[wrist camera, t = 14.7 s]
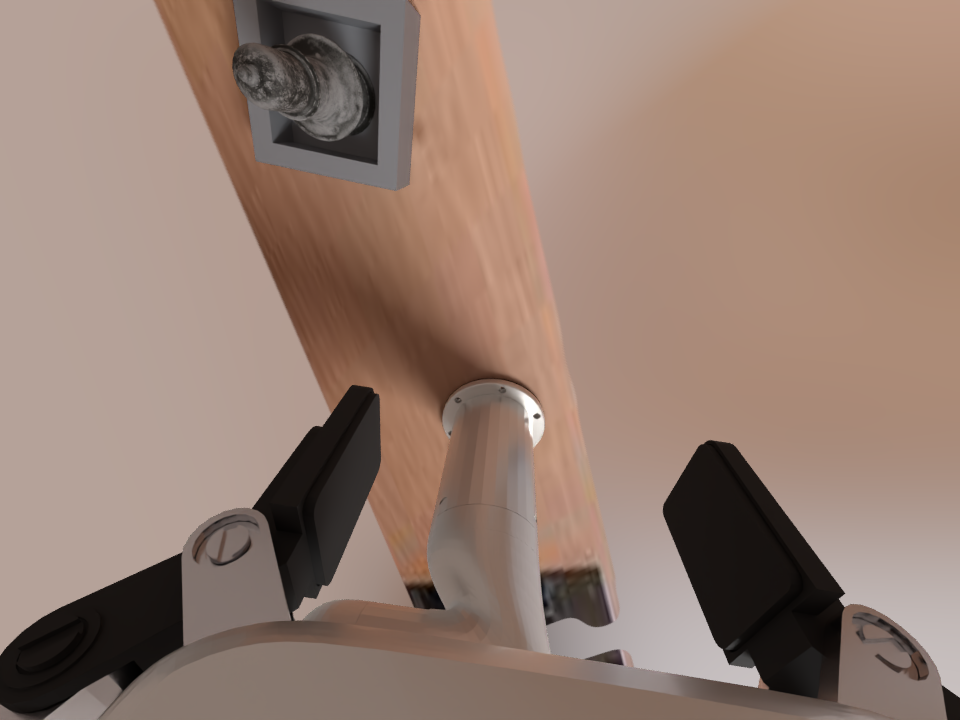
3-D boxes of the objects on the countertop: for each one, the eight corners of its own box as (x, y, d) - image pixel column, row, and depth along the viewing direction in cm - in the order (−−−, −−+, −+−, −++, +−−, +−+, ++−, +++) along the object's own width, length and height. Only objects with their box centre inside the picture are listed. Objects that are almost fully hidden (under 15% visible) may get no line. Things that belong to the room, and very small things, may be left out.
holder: (409, 184, 31) (396, 190, 28) (284, 158, 31) (255, 161, 28) (420, 15, 25) (405, -3, 22) (265, -19, 25) (226, -43, 22)
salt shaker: (350, 157, 30) (264, 169, 19) (289, 94, 28) (157, 70, 17) (394, 97, 27) (322, 74, 17) (331, 22, 25) (205, -54, 15)
